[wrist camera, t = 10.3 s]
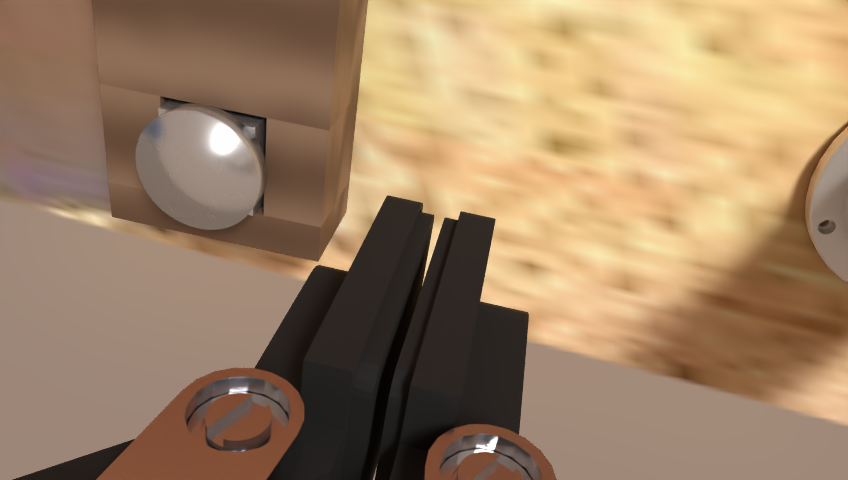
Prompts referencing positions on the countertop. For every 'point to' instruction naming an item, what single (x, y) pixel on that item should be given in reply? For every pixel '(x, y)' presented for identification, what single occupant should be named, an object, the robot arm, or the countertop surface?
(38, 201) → the countertop surface
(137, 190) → the block
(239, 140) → the plunger steel
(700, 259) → the countertop surface
